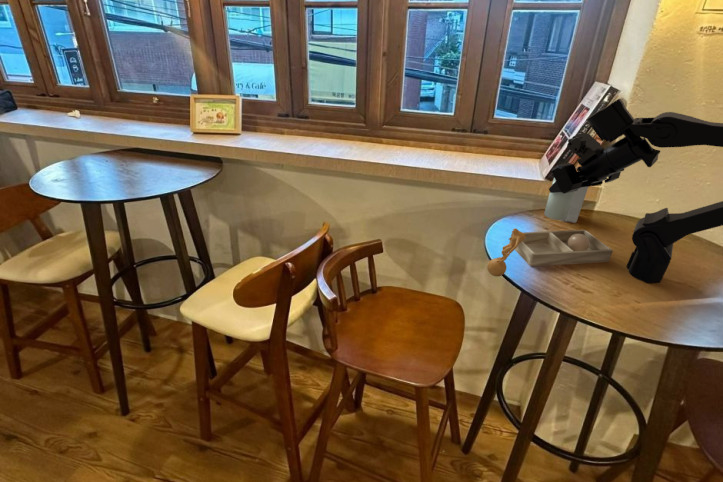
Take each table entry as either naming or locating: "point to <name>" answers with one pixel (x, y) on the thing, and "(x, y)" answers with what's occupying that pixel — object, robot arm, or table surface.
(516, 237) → the figurine
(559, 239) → the caddy
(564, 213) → the pale blue pillar
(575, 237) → the brown egg
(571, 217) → the skincare box
